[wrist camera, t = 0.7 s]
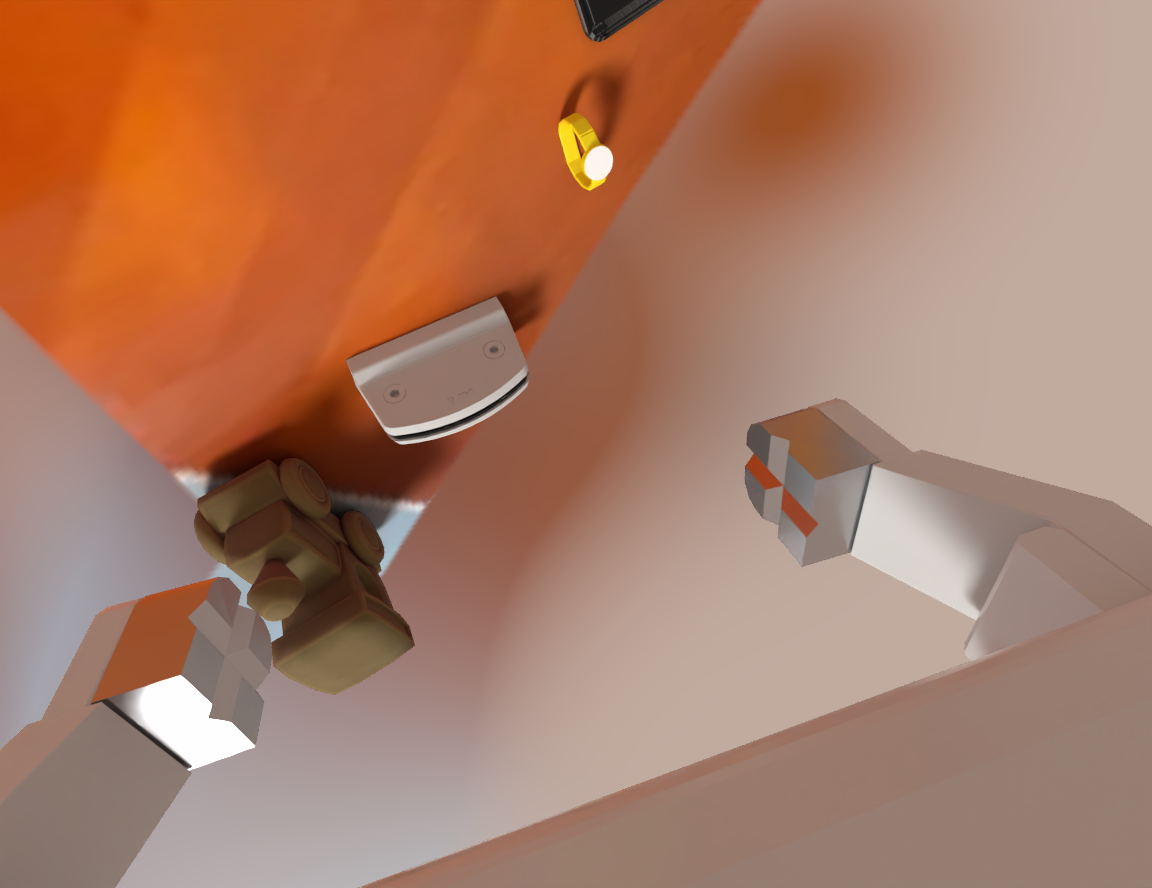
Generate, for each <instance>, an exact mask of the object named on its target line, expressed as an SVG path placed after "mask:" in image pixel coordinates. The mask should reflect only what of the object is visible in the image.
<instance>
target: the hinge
mask: <svg viewBox="0 0 1152 888" xmlns="http://www.w3.org/2000/svg"><path fill="white" fill-rule="evenodd" d="M346 361H347V364H348V366H349V369H350V371H351V373H352V376H353V379H354V382H355V385H356V387H357V388H358V390H359V392H360V393H361V395H362V396H363V398H364V399H365V401H366V402H367V404H368V406H369V407H370V409H371V410H372V412H373V413H374V415H375V416H376V418H377V420H378V421H379V423H380V424H381V426H382V427H383V429H384V430H385V432H386V433H387V434H388V436H389V437H390V438H391V439H392V440H393V441H395V442H397V443H399V444H411V443H418V442H423V441H429V440H433V439H437V438H441V437H444V436H447V435H450V434H453V433H456V432H459V431H461V430H464V429H466V428H468V427H471V426H473V425H475V424H477V423H479V422H481V421H483V420H484V419H486V418H488V417H489V416H491V415H493V414H494V413H496V412H497V411H499V410H500V409H502V408H503V407H504V406H506V405H507V404H508V403H510V402H511V401H512V400H513V399H514V398H516V397H517V396H518V395H519V394H520V393H521V392H522V391H523V390H524V389H525V388H526V387H527V385H528V381H529V372H528V366H527V363H526V361H525V358H524V355H523V353H522V350H521V348H520V345H519V343H518V340H517V338H516V336H515V333H514V331H513V328H512V326H511V323H510V321H509V319H508V317H507V315H506V313H505V311H504V309H503V307H502V305H501V304H500V302H499V300H498V299H497V297H493V298H491V299H489V300H486V301H484V302H481V303H479V304H477V305H474V306H472V307H470V308H467V309H465V310H463V311H460V312H458V313H455V314H453V315H451V316H448V317H446V318H444V319H441V320H439V321H437V322H434V323H432V324H430V325H427V326H425V327H422V328H420V329H418V330H415V331H413V332H411V333H408V334H406V335H404V336H401V337H399V338H396V339H394V340H392V341H389V342H387V343H385V344H382V345H380V346H378V347H375V348H373V349H370V350H368V351H366V352H363V353H361V354H359V355H356V356H354V357H352V358H349V359H347V360H346Z"/></svg>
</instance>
